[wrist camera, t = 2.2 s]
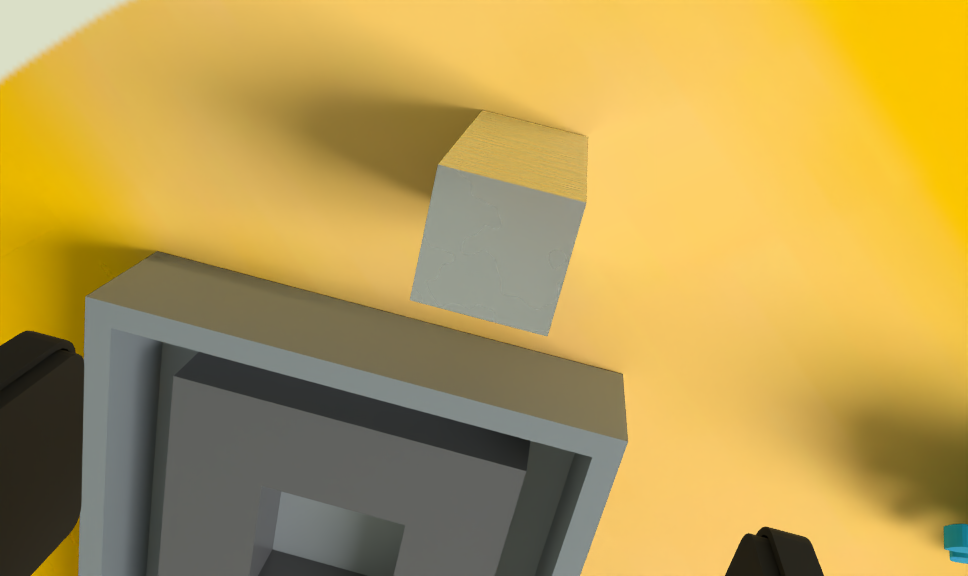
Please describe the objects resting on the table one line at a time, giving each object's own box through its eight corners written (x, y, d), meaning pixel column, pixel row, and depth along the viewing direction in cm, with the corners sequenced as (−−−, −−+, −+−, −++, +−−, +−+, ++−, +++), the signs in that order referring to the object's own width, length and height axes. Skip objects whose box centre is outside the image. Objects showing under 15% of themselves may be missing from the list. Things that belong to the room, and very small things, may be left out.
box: (623, 374, 32) (627, 441, 27) (508, 708, 40) (497, 804, 35) (157, 251, 33) (85, 296, 28) (134, 603, 40) (75, 684, 36)
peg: (588, 136, 29) (586, 202, 20) (559, 237, 30) (547, 336, 22) (482, 110, 29) (437, 164, 20) (460, 211, 30) (409, 300, 22)
